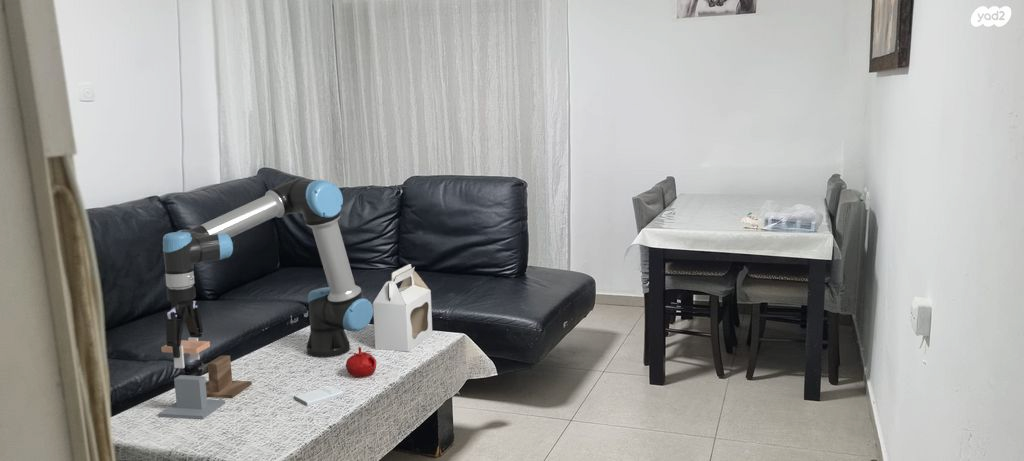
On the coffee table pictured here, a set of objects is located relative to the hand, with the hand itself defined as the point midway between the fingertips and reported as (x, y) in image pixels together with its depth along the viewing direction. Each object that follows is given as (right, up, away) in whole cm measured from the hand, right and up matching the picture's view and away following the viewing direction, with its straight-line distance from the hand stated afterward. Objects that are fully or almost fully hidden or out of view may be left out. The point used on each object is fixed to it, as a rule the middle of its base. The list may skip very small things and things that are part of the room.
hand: (187, 363), depth 231 cm
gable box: (+55, -3, +64) cm, 84 cm away
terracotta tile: (0, +4, -1) cm, 4 cm away
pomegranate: (+45, -9, +30) cm, 55 cm away
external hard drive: (+36, -13, +11) cm, 39 cm away
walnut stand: (+3, -12, +18) cm, 22 cm away
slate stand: (0, -14, +3) cm, 14 cm away
